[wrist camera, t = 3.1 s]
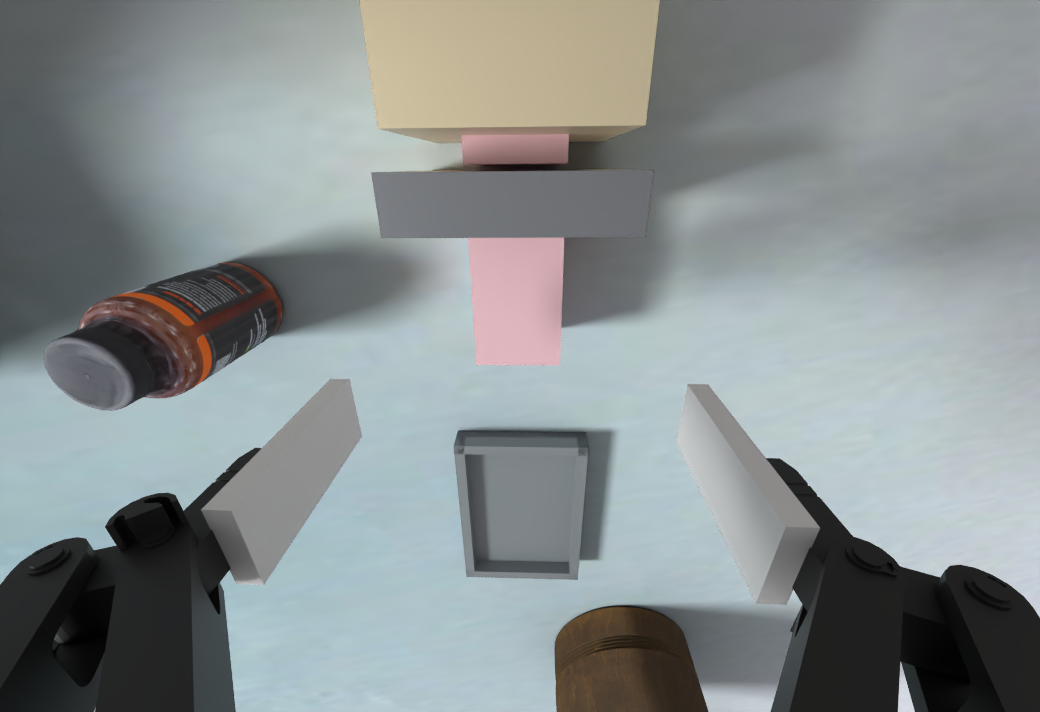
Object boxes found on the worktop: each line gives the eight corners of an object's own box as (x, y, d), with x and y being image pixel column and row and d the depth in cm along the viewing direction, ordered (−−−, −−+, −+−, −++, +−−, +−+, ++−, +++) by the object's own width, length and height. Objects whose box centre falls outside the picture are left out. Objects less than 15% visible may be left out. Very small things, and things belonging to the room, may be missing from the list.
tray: (469, 558, 40) (466, 576, 38) (458, 430, 33) (453, 446, 31) (575, 560, 39) (577, 579, 38) (585, 432, 33) (588, 448, 31)
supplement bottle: (194, 254, 27) (-8, 306, 17) (281, 266, 28) (131, 324, 17) (212, 333, 30) (46, 419, 20) (291, 343, 30) (167, 434, 20)
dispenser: (435, 213, 26) (381, 238, 17) (411, -33, 20) (315, -189, 11) (605, 212, 25) (645, 237, 16) (625, -38, 20) (700, -204, 11)
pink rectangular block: (487, 328, 29) (476, 364, 24) (479, 179, 25) (464, 183, 19) (555, 328, 29) (560, 365, 24) (559, 178, 25) (566, 181, 19)
